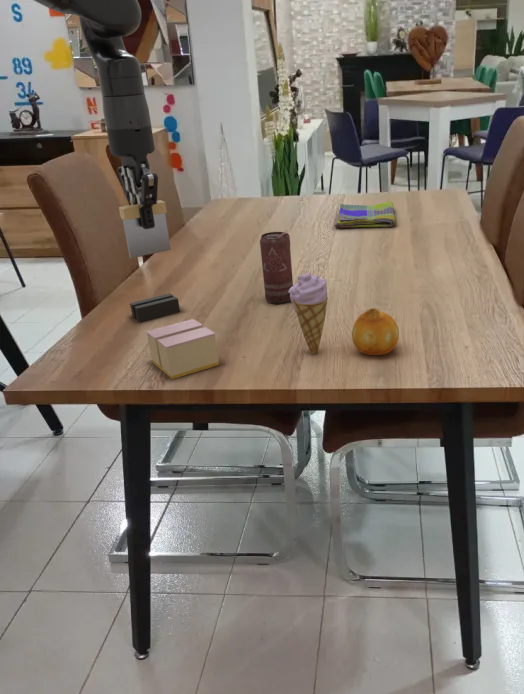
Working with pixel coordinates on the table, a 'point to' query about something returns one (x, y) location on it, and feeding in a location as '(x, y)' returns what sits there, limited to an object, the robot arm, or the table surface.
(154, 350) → the slotted cream block
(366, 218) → the dish towel
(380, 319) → the fruit
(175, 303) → the stand
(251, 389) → the table surface
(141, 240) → the scraper
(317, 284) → the ice cream cone
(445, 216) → the table surface
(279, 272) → the can
